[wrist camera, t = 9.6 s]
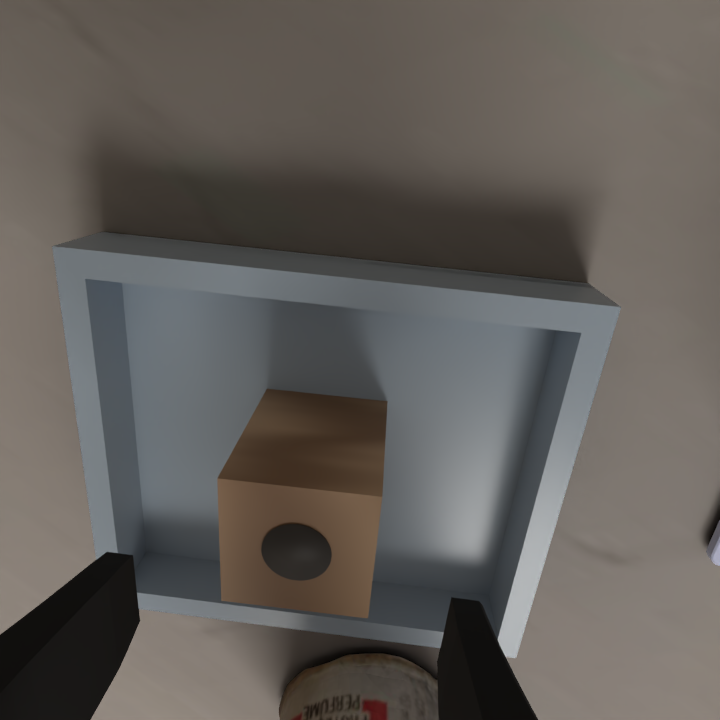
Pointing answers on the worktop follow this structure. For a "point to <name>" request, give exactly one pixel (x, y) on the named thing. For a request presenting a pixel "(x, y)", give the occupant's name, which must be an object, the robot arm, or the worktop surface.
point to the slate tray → (338, 378)
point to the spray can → (362, 691)
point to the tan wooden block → (303, 504)
